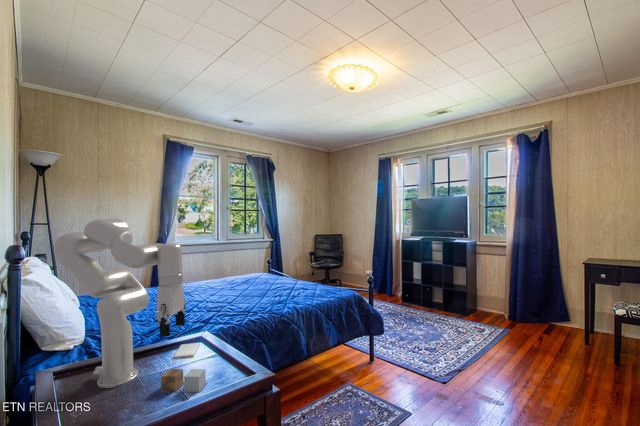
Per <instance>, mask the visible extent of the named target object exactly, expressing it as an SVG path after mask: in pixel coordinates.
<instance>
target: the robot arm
mask: <svg viewBox="0 0 640 426" xmlns="http://www.w3.org/2000/svg"><path fill="white" fill-rule="evenodd" d="M133 238H134V237H133V233H132V232H131V231H130V229H129V225H128V224H127V222H125V220H122V219H119V218H103V219H102V218H101V219H93V220H92V221H89V222H88V223H86V224H85V226H84V228H83V231H75V232H74V231H73V232H68V233H64V234H62V235H60V236H58V237H57V238H56V240H55V241H54V246H53V251H54V256H55V258H56V260H57V261H58V263H59V264H60V266H62V267H63V268H64V269H65V270H67V271H68V272H69V273H70V274H71V275H72V276H73V277H74V278H75V279H76V281H77V282H78V284H80V286H81V287H82V289H84V291H85V292H86V293H87V294H88V296H90V297H91V298H94V299H99V301H98V303H97V304H96V313H97V316H98V319H99V324H100V335H101V336H100V337H101V343H100V344H101V362H102V363H101V365H100V366H96V367H95V369H94V371H93V375H94V376H99V377H98V379H97V382H96V383H97V384H96V385H97V387H98V388H101V389H102V388H103V389H112V388H117V387H118V386H120V385H124V384H126V383H128V382H130V381H132V380H133V379H135V378H136V377H138V375H139V370H138V368H136V367H134V349H133V348H134V347H133V346H134V345H133V344H134V343H133V326H132V323H130V322H129V320H128V319H127V317H128V316H129V315H132V314H135V313H138V312H141V311H143V310H144V309H146V308H147V307H148V305H149V303H150V296H149V294H148V291H147V290H146V288H145V287H144V286H143V285H142V284H141V283H140V281H139V280H138V279H137V278H136V276H135V275H134V274H133V273H131V272H130V271H129V270H128V269H126V268H121V267H119V268H113V269H105V268H103V267H102V266H101V265H100V263H99V262H98V261H97V260H95V259H94V258H92V257H89V256H88V255H86V254H92V253H97V252H98V253H99V252H104V251H106V250H110V252H111V255H112V257H113V259H114V260H115V261H116V262H118V263H120V264H121V265H123V266H125V267H128V268H131V269H142V268H147V267H148V268H149V267H151V266H152V267H153V266H156V265H157V277H158V287H157V294H156V313H155V317H156V320H157V323H158V325H159V336H160V337H170V336H171V323H170V322H169V321H170V319H171V317H172V316H174V315H175V327H176V326H177V327H178V326H179V327H180V326H182V327H183V326H186V307H187V306H186V303H187V299H186V298H185V291H184V285H183V284H184V277H183V276H184V275H183V257H182V256H183V255H182V246H181V245H180V243H159V242H158V243H148V244H140V245H134V244H132V243H133V240H134V239H133Z"/></svg>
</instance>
